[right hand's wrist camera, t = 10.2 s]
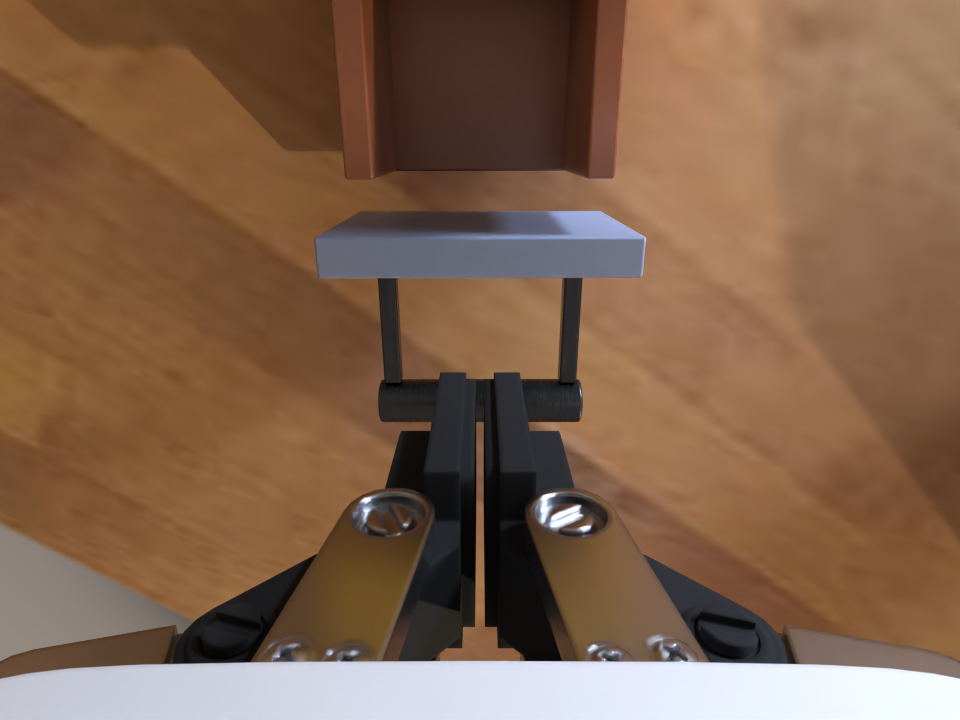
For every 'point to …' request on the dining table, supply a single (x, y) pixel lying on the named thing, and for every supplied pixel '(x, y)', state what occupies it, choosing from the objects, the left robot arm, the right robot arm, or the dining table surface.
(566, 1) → the drawer
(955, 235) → the dining table surface
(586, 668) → the right robot arm
